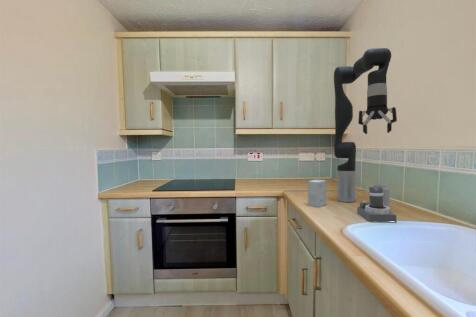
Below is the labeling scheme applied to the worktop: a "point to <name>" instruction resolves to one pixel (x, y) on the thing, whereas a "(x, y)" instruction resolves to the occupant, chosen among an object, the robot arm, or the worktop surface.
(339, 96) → the robot arm
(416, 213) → the worktop surface
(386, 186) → the can
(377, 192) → the lens
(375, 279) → the worktop surface
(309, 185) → the small box
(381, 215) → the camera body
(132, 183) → the worktop surface
